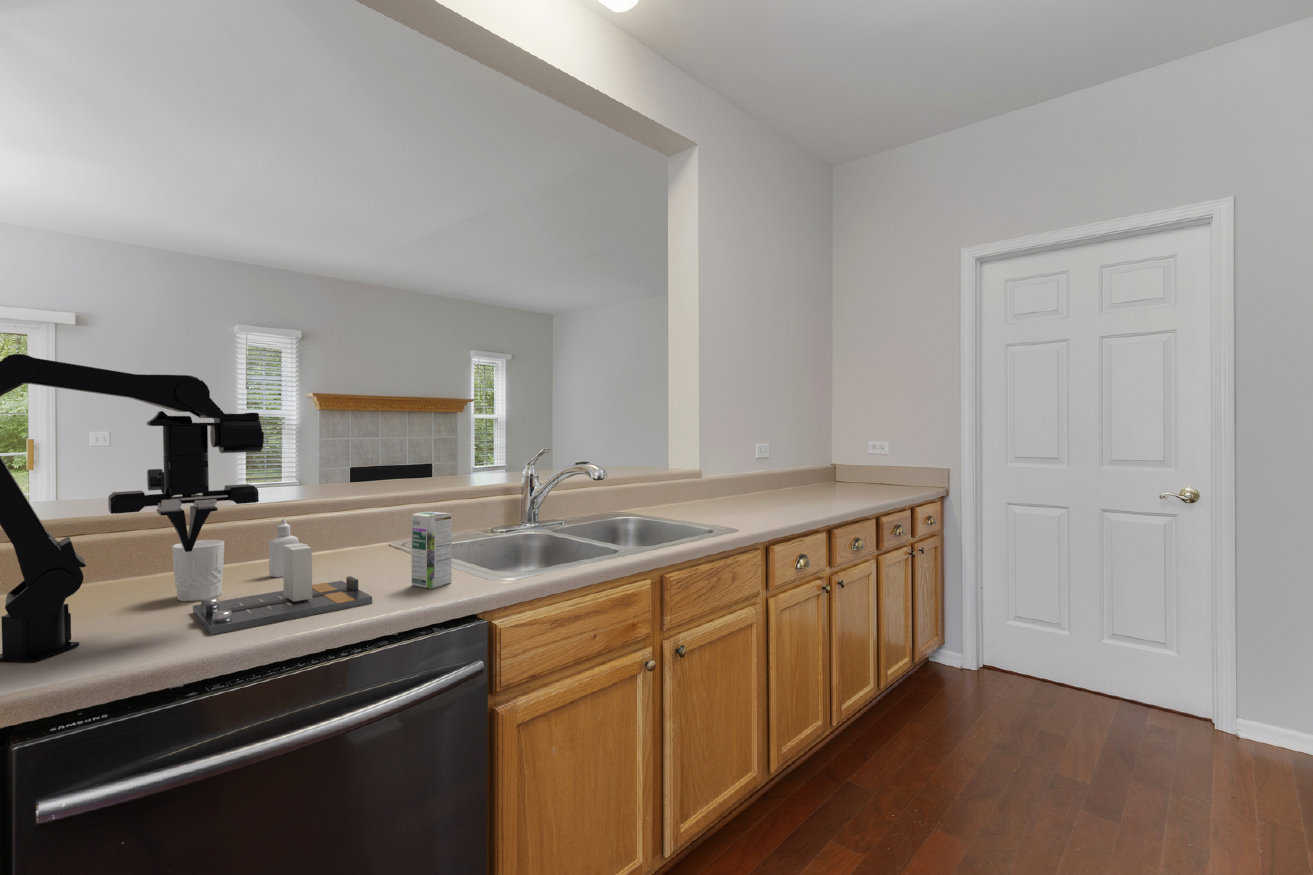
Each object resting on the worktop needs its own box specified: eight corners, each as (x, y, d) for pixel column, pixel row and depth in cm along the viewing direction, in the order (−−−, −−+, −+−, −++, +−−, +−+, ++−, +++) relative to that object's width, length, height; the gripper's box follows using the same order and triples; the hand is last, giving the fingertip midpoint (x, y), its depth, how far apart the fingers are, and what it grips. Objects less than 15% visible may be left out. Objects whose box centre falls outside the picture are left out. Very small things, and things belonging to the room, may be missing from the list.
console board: (211, 635, 95) (210, 614, 95) (192, 612, 106) (192, 593, 106) (372, 603, 112) (372, 585, 112) (341, 586, 123) (341, 570, 123)
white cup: (197, 603, 112) (196, 548, 111) (161, 601, 113) (160, 546, 113) (235, 592, 119) (234, 540, 119) (201, 589, 121) (200, 538, 121)
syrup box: (410, 586, 124) (409, 513, 123) (433, 579, 129) (432, 510, 129) (430, 589, 121) (429, 515, 121) (453, 582, 126) (452, 512, 126)
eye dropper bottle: (268, 574, 133) (267, 519, 133) (298, 570, 136) (297, 516, 136) (269, 578, 130) (269, 521, 129) (300, 574, 133) (299, 519, 133)
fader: (292, 601, 107) (292, 548, 107) (283, 594, 112) (282, 544, 111) (312, 598, 110) (311, 546, 109) (302, 591, 114) (301, 541, 114)
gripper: (243, 450, 111) (245, 537, 112) (105, 454, 98) (107, 552, 99) (258, 453, 103) (260, 545, 104) (109, 457, 90) (112, 563, 91)
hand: (188, 551), depth 99 cm, fingers closed
